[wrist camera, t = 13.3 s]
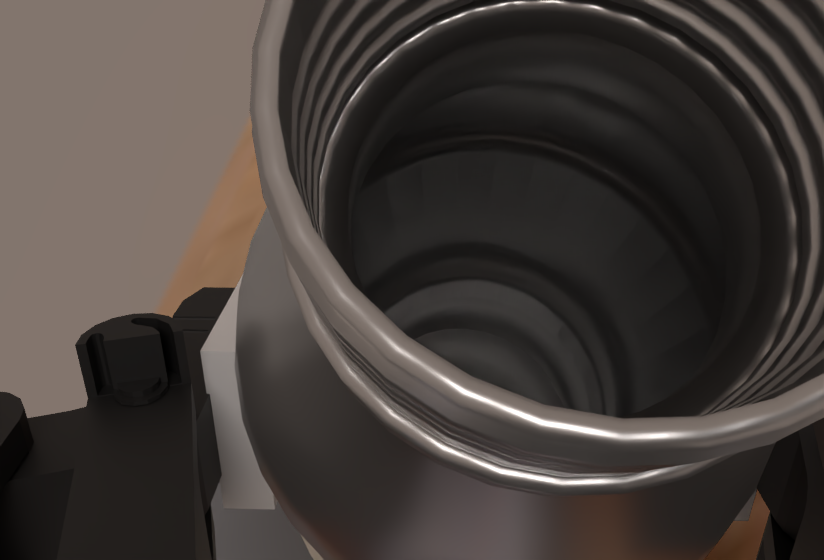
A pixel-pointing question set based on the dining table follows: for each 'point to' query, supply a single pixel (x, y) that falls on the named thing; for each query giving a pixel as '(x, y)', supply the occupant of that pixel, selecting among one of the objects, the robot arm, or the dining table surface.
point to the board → (257, 534)
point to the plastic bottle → (531, 271)
